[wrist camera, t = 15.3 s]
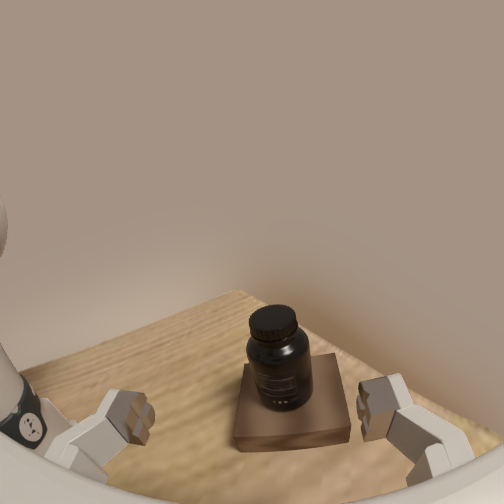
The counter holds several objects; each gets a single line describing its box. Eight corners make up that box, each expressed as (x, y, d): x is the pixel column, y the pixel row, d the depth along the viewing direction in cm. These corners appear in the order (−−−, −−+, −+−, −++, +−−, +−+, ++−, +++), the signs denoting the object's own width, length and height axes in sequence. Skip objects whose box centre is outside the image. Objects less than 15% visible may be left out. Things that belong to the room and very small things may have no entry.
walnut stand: (240, 452, 27) (233, 436, 26) (249, 381, 40) (244, 363, 38) (348, 442, 26) (351, 425, 24) (335, 371, 38) (334, 352, 37)
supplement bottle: (264, 374, 35) (247, 300, 32) (315, 373, 34) (308, 296, 30) (253, 412, 29) (230, 337, 25) (311, 413, 27) (304, 335, 24)
